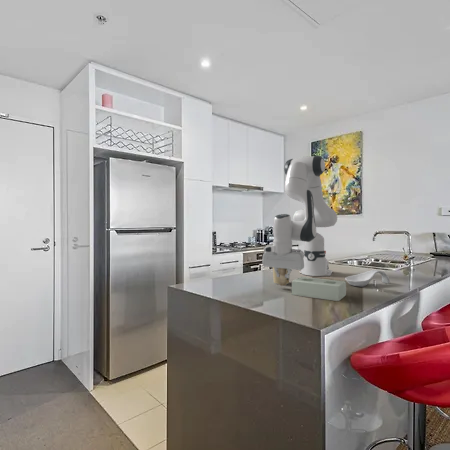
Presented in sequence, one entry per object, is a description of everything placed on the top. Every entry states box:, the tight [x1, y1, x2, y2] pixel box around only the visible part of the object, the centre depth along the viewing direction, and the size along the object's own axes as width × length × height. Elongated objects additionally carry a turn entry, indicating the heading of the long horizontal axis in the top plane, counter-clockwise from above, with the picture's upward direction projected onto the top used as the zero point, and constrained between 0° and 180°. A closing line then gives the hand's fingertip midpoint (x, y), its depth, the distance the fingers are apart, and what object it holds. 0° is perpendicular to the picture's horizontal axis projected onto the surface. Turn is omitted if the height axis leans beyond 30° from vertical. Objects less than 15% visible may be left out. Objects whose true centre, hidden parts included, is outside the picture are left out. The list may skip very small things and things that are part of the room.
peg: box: [279, 268, 287, 287], centre depth 149 cm, size 3×3×10 cm
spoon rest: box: [344, 269, 391, 288], centre depth 158 cm, size 24×12×7 cm, turn 108°
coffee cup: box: [272, 267, 291, 286], centre depth 162 cm, size 9×9×12 cm
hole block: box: [291, 276, 347, 302], centre depth 137 cm, size 12×20×6 cm, turn 55°
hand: (282, 277), depth 149 cm, fingers closed on peg, 3 cm apart
